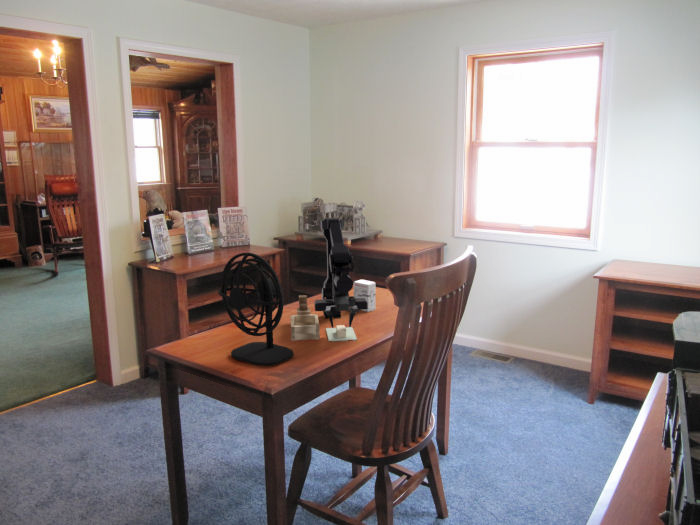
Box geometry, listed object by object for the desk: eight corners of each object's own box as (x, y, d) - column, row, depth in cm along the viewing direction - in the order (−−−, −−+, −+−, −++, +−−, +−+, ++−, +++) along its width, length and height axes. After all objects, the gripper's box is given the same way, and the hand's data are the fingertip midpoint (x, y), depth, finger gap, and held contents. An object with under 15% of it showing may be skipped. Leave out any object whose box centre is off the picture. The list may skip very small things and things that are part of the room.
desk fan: (211, 356, 183) (204, 251, 176) (250, 341, 197) (245, 243, 190) (271, 375, 168) (266, 261, 161) (309, 357, 182) (306, 251, 174)
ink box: (352, 308, 236) (352, 281, 234) (360, 305, 240) (360, 279, 238) (368, 312, 231) (368, 284, 228) (376, 309, 234) (376, 282, 232)
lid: (352, 329, 211) (352, 320, 210) (357, 341, 198) (357, 332, 197) (325, 330, 210) (325, 321, 209) (328, 343, 197) (328, 333, 196)
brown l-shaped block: (306, 304, 220) (306, 295, 219) (307, 309, 213) (307, 300, 212) (299, 304, 220) (298, 295, 219) (299, 309, 213) (299, 300, 212)
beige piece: (316, 321, 218) (316, 307, 217) (319, 339, 199) (319, 323, 198) (290, 323, 217) (290, 308, 216) (291, 340, 198) (290, 324, 197)
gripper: (315, 292, 190) (316, 336, 193) (370, 290, 192) (370, 333, 195) (313, 284, 201) (314, 325, 204) (365, 282, 203) (365, 323, 206)
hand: (341, 327), depth 202 cm, fingers open, 6 cm apart
